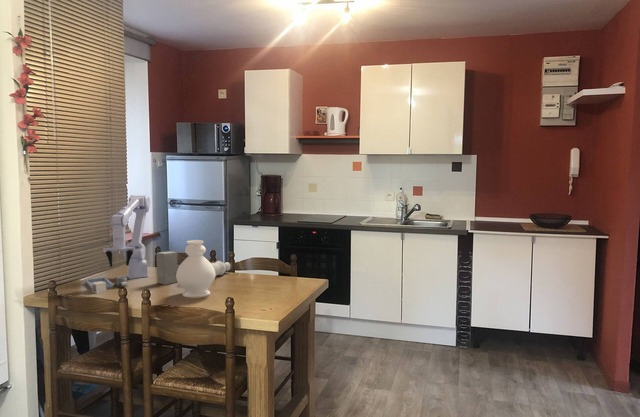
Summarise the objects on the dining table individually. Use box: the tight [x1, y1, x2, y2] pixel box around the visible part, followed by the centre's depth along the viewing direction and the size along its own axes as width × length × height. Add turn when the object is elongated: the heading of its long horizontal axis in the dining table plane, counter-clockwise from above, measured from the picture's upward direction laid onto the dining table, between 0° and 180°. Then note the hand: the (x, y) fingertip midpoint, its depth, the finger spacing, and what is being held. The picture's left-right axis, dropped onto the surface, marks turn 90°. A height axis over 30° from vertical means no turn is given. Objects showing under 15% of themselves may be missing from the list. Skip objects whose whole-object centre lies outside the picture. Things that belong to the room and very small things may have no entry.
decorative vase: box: [176, 239, 216, 299], centre depth 239 cm, size 18×18×25 cm
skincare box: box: [156, 250, 178, 286], centre depth 261 cm, size 8×7×16 cm
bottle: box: [210, 260, 232, 277], centre depth 272 cm, size 9×9×30 cm
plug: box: [115, 275, 128, 288], centre depth 256 cm, size 12×4×4 cm, turn 35°
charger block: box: [91, 281, 107, 294], centre depth 244 cm, size 5×4×4 cm
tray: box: [85, 277, 114, 290], centre depth 255 cm, size 17×9×2 cm, turn 35°
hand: (119, 266), depth 256 cm, fingers open, 7 cm apart
